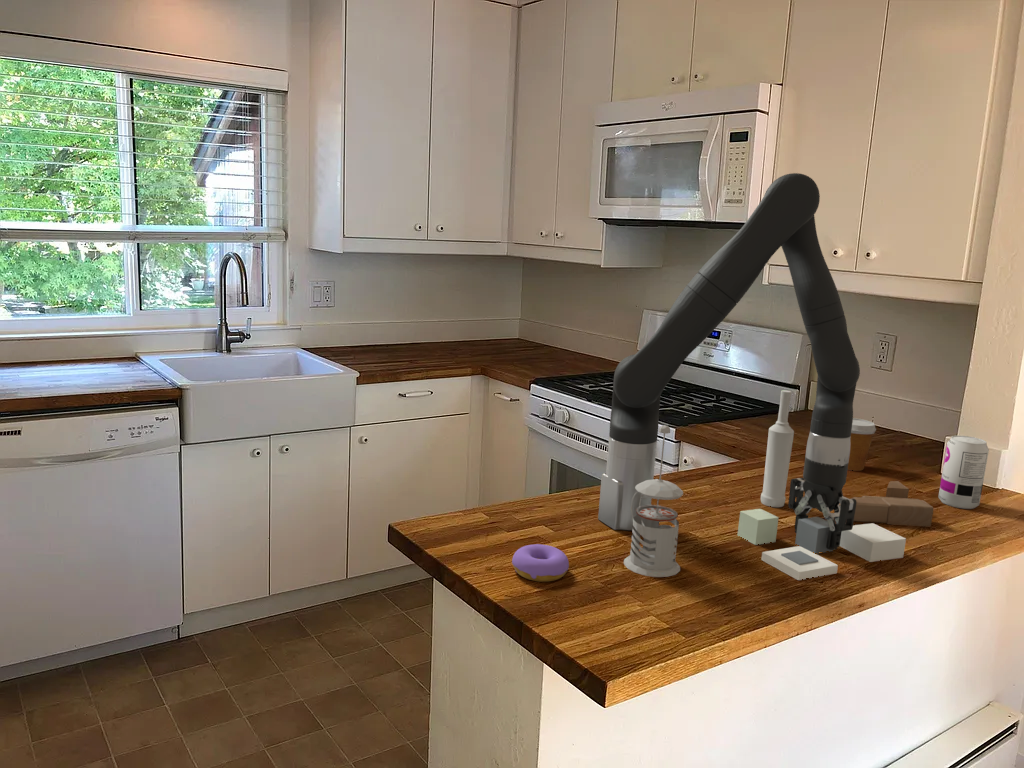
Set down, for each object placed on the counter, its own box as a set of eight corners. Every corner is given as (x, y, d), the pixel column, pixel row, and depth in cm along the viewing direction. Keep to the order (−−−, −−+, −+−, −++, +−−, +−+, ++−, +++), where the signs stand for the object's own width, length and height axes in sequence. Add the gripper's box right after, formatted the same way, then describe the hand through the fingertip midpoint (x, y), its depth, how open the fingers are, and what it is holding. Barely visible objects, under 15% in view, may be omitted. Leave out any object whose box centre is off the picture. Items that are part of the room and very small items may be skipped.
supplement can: (933, 502, 187) (943, 438, 184) (944, 495, 193) (954, 432, 190) (972, 512, 182) (984, 446, 179) (982, 504, 188) (994, 440, 185)
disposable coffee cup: (871, 475, 206) (878, 428, 204) (831, 469, 209) (837, 423, 207) (868, 465, 215) (875, 420, 213) (829, 459, 218) (835, 415, 215)
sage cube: (755, 545, 156) (758, 520, 155) (737, 535, 160) (740, 511, 159) (775, 542, 158) (778, 517, 157) (757, 532, 162) (760, 508, 161)
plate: (798, 580, 141) (799, 570, 140) (761, 559, 149) (762, 550, 148) (836, 573, 145) (838, 563, 144) (798, 553, 153) (799, 544, 152)
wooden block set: (939, 503, 170) (851, 497, 170) (935, 529, 171) (848, 523, 171) (903, 477, 187) (823, 472, 187) (899, 501, 188) (820, 496, 188)
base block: (869, 563, 151) (872, 542, 150) (837, 546, 158) (840, 526, 157) (902, 559, 154) (906, 538, 153) (870, 542, 161) (873, 523, 160)
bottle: (786, 508, 177) (800, 394, 172) (761, 505, 178) (774, 392, 173) (783, 501, 182) (797, 390, 177) (759, 498, 183) (772, 387, 178)
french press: (643, 580, 137) (656, 434, 133) (607, 553, 148) (619, 417, 143) (692, 573, 141) (707, 431, 136) (654, 547, 152) (667, 414, 147)
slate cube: (814, 554, 153) (818, 528, 152) (795, 544, 157) (798, 519, 156) (834, 550, 155) (838, 525, 154) (814, 541, 160) (817, 516, 159)
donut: (577, 582, 135) (573, 555, 134) (522, 595, 133) (518, 568, 132) (561, 557, 144) (557, 531, 143) (509, 569, 143) (505, 543, 142)
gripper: (783, 448, 158) (773, 530, 161) (842, 470, 145) (830, 558, 148) (812, 445, 161) (802, 525, 164) (873, 466, 148) (860, 553, 151)
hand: (815, 541), depth 156 cm, fingers open, 7 cm apart
